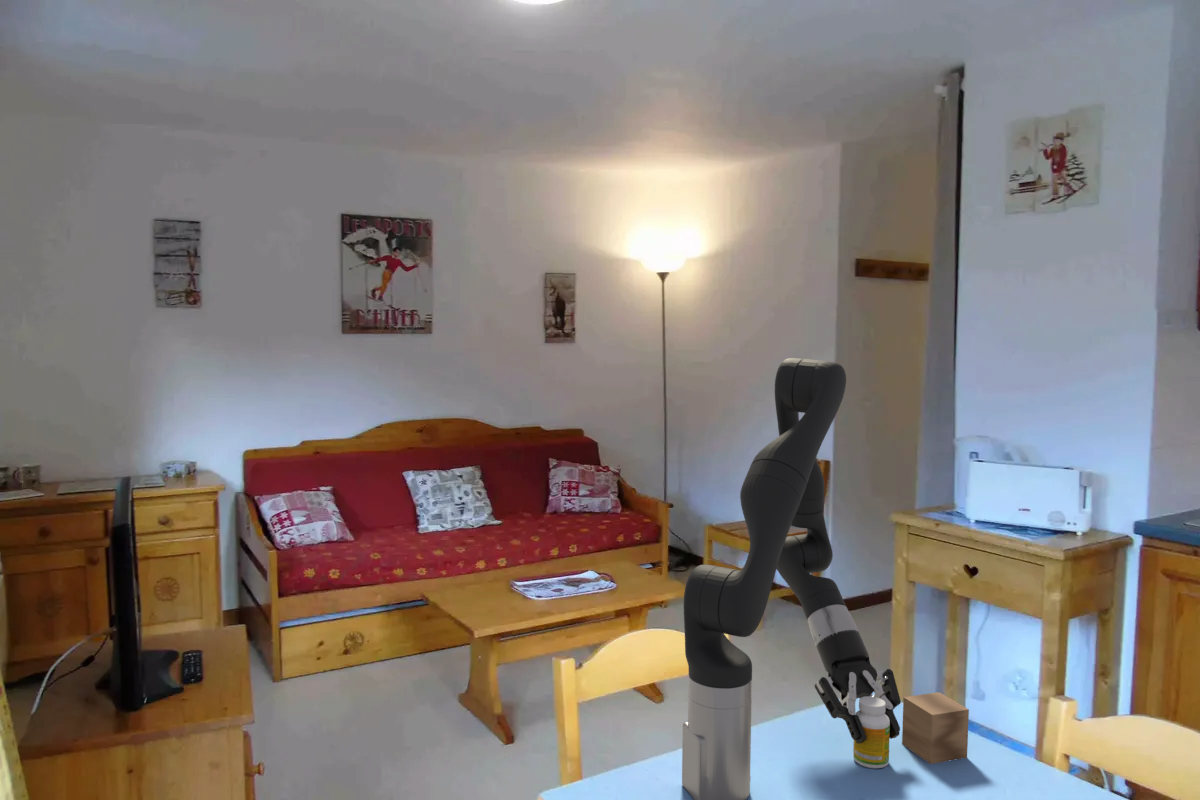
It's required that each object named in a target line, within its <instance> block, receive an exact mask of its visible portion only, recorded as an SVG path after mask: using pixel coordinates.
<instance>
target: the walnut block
mask: <svg viewBox="0 0 1200 800" xmlns="http://www.w3.org/2000/svg"><path fill="white" fill-rule="evenodd" d="M902 698H903V700H902V702H903V705H902V706H903V707H902V731H901V736H902V738H901V739H902V740H901V745H902V746H904V747H905V748H907V749H908V750H910V751H911V752H913V753H914V754H916V755H917V756H918V757H920V758H922V760H924V761H925V762H927V763H928V764H930V765H933V764H938V763H939V764H940V763H945V762H950V761H949V760H951V761H955V759H957V760H962V759H961V758H963V759H967V758H968V743H969V742H968V741H969V717H970V716H969V715H970V710H969V708H967V707H966V706H964V705H961V704H960V703H958V702H956V701H954V700H953V699H951V698H949V697H948V696H946V695H944V694H943V693H941V692H940V691H938V692H931V693H922V694H916V695H909V696H903V697H902Z"/></svg>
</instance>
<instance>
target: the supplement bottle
mask: <svg viewBox="0 0 1200 800" xmlns="http://www.w3.org/2000/svg"><path fill="white" fill-rule="evenodd" d="M858 699H859V700H858V701H859V702H858V709H859V710H857V711H855V712H856V713H855V716H856V715H858V717H859V720H860V722H861V725H862V727H863V730H864V732H865V735H866V740H865V741H864V742H863V743H860V744H857V743H856V740H853V748H852V749H853V750H852V752H853V754H852V755H853V756H852V757H853V760H854V761H855V762H856V763H857V764H858V765H861V767H865V768H868V769H881V768H885V767H887V766H888V765H889V761H890V760H889V759H890V738H889V736H890V720H889V717H888V716H887V715H886V714H885V710H886V703H885V701H883V700H882V699H880V698H877V697H871V696H866V697H862V698H858Z"/></svg>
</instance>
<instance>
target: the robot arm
mask: <svg viewBox="0 0 1200 800" xmlns="http://www.w3.org/2000/svg"><path fill="white" fill-rule="evenodd" d="M846 385H847V375H846V371H845V368H844V367H843V366H842V364H840V363H837V362H836V361H835V362H834V361H830V360H821V359H811V358H810V359H808V358H798V357H789V358H786V359H784V360H783V361H782V362H781V363H780V364H779V365H778V368H777V371H776V375H775V379H774V402H775V412H776V413H775V414H776V419H777V430H778V437H776V438H775V439H773V440H772V441H771V442H769V443H768V444H767V445H765V446H764V447H763V448H762V449H760V450H759V452H758V453H757V454H756V455H755V457H754V458H753V459H752V462H751V464H750V465H749V468H748V471H747V473H746V475H745V478H744V480H743V483H742V486H741V489H740V495H739V497H740V498H739V499H740V506H741V510H742V514H743V517H744V518H743V519H744V520H745V521H744V522H745V525H746V528H747V531H748V537H749V551H748V555H747V558H746V561H745V563H744V566H743V567H742V569H740V570H739V569H734V568H730V567H723V566H720V565H719V566H718V565H713V564H700V565H697V566H696V567H695V568H693V569H692V571H691V572H690V573H689V576H688V577H687V581H686V582H685V588H684V593H683V624H684V625H683V628H684V652H685V653H684V654H685V658H686V662H687V665H688V692H687V693H688V695H687V699H688V701H687V702H688V703H687V704H688V705H687V707H688V708H687V721H684V722H683V723H682V741H681V742H682V743H681V744H682V746H681V747H682V753H681V758H682V759H681V762H682V763H681V785H682V786H683V787H684V789H685V790H686V791H687V792H688V793H689V795H690V796H691V797H692V799H693V800H747V799H748V798H749V796H750V793H751V778H752V777H751V760H752V759H751V758H752V757H751V752H752V751H751V749H752V748H751V747H752V746H751V744H752V702H753V701H752V699H753V694H752V693H753V691H752V689H753V663H752V660H751V658H750V656H749V655H748V654H747V653H745V651H743V650H742V649H740V648H739V647H737V646H736V645H735V644H734V643H732V642H731V640H729V639H728V636H726V635H729V636H734V637H741V638H747V637H750V636H751V635H752V634H753V633H755V631H756V630H757V629H758V628H759V626H760V624H761V621H762V619H763V617H764V614H765V611H766V608H767V606H768V601H769V597H770V594H771V592H772V591H771V590H772V586H773V582H774V580H775V575H776V572H778V573H779V575H780V576H781V577H782V579H783V580H784V582H785V583H786V584H787V585H788V587H789V588H790V589H791V591H792V592H793V594H794V595H795V597H796V598H797V599H798V600H799V602H800V605H801V607H802V612H803V614H804V616H805V618H806V621H807V623H808V627H809V632H810V634H811V636H812V637H811V638H812V639H813V643H814V645H815V647H816V650H817V652H818V655H819V657H820V660H821V662H822V664H823V667H824V669H825V671H826V672H827V675H828V676H827V677H821V678H819V680H818V681H817V682H816V683H815V684H814V689H815V690H816V692H817V694H818V695H819V697H820V699H821V701H822V703H823V704H824V706H825V707H826V709H827V711H828V713H829V715H830V716H831V718H832V719H837V718H838V719H841V720H843V721H844V722H845V724H846V726H847V730H848V731H849V734H850V736H851V738H852V740H853V741H854V740H856V743H857V744H860V743H863V742H864V741H865V740H866V735H865V732H864V730H863V727H862V725H861V722H860V720H859V717H858V715H856V716H855V714H856V712H857V711H856V701H857V699H860V698H862V697H866V696H871V697H877V698H880V699H882V700H883V701H885V703H886V710H885V714H886V715H887V716H888V717H889V720H890V736H889V740H890V739H895V738H897V737H898V736H899V735H900V732H901V727H900V725H899V722H898V721H897V717H896V716H895V713H894V710H895V709H896V708H897V706H899V705H901V702H902V701H901V697H900V694H899V690H898V686H897V681H896V679H895V675H894V672H893V670H892V669H890V668H887V669H886V670H885V671H883V670H877V669H876V668H875V667H874V665H872V664H871V662H870V654H869V652H868V649H867V647H866V645H865V643H864V641H863V638H862V635H861V634H860V631H859V630H858V627H857V625H856V622H855V620H854V619H853V616H852V615H851V613H850V611H849V610H848V607H847V605H846V603H845V601H844V598H843V595H842V594H841V592H840V590H839V587H838V585H837V583H836V581H834V580H833V579H831V578H829V577H824V576H817V575H816V576H815V575H812V574H815V573H820V572H821V573H822V572H823V571H826V570H827V569H828V568H829V567H830V566H831V564H832V560H833V557H834V555H833V547H832V544H831V540H830V538H829V533H828V530H827V525H826V520H825V515H824V514H825V512H824V511H825V509H824V508H825V480H824V475H823V472H822V469H821V467H820V465H819V462H818V461H817V456H818V455H819V452H820V448H821V446H822V443H823V442H824V439H825V437H826V436H827V433H828V431H829V430H830V428H831V425H832V423H833V422H834V420H835V418H836V415H837V413H838V411H839V409H840V407H841V404H842V402H843V399H844V395H845V391H846ZM799 413H802V414H803V413H804V414H803V415H802V416H801V418H800V416H799ZM791 527H794V528H799V529H806V533H804V534H797V535H788V534H789V531H790V529H791ZM877 681H878V683H877ZM834 689H836V691H838V693H839V697H838V695H837V694H836V692H835V690H834ZM873 693H874V695H873Z"/></svg>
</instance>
